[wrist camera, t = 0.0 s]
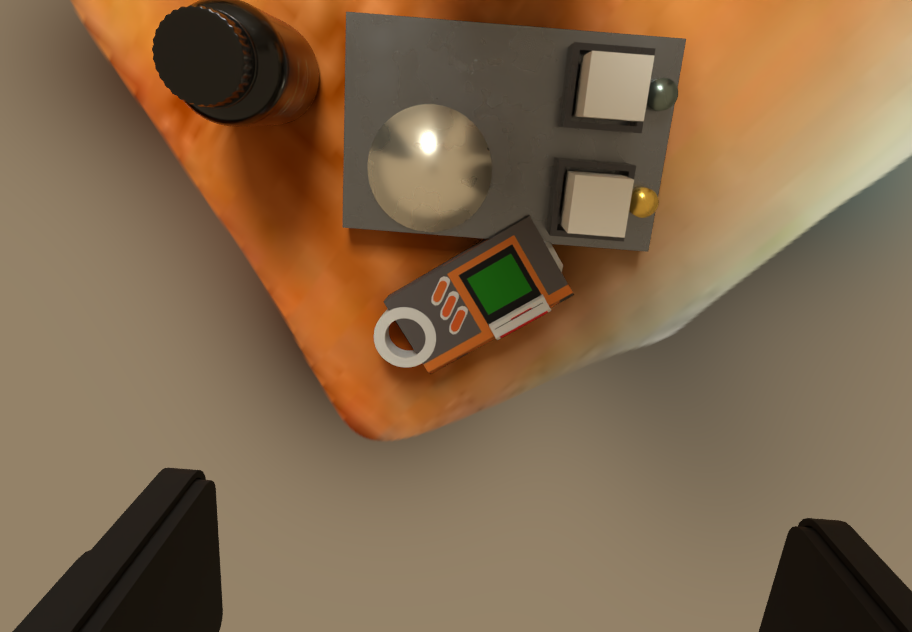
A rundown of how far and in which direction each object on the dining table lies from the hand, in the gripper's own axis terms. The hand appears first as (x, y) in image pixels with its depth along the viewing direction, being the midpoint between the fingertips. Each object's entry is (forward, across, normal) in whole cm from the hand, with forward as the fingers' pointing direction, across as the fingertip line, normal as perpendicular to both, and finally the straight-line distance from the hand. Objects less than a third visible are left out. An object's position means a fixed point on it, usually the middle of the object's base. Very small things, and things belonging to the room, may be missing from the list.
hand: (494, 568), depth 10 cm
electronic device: (+36, 0, +6) cm, 37 cm away
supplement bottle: (+37, +15, -9) cm, 41 cm away
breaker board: (+37, -2, -6) cm, 37 cm away
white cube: (+33, -7, -2) cm, 34 cm away
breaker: (+33, -8, -9) cm, 35 cm away
